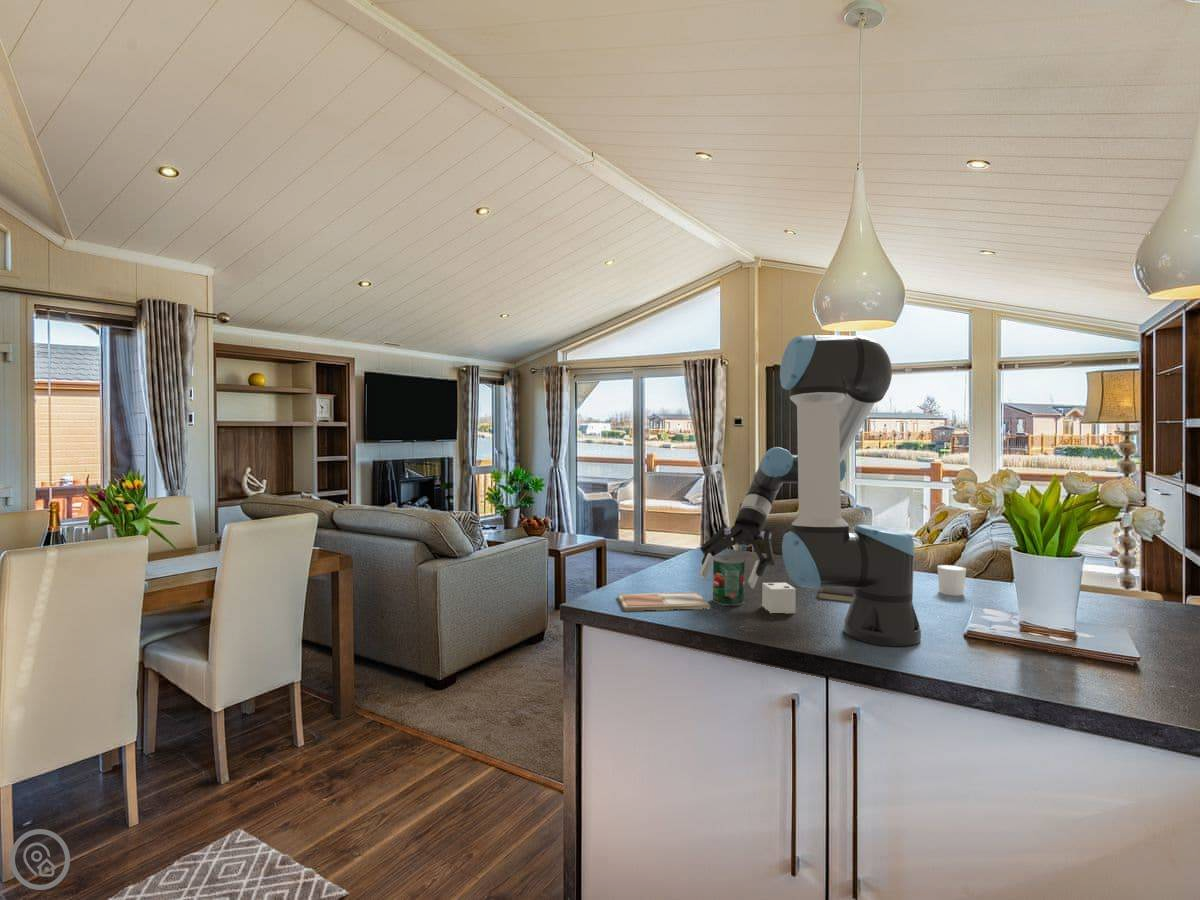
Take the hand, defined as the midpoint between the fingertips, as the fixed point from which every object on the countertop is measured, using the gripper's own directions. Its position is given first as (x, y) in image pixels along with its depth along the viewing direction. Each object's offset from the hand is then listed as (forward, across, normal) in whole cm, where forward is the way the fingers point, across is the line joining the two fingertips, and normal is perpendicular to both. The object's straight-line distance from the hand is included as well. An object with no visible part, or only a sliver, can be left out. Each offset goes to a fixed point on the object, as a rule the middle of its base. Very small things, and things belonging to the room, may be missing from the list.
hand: (725, 580), depth 162 cm
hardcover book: (-18, -22, -27) cm, 39 cm away
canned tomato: (+3, 0, -5) cm, 6 cm away
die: (+2, -13, -6) cm, 14 cm away
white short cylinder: (-30, -43, -38) cm, 64 cm away
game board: (+12, +12, +4) cm, 17 cm away
